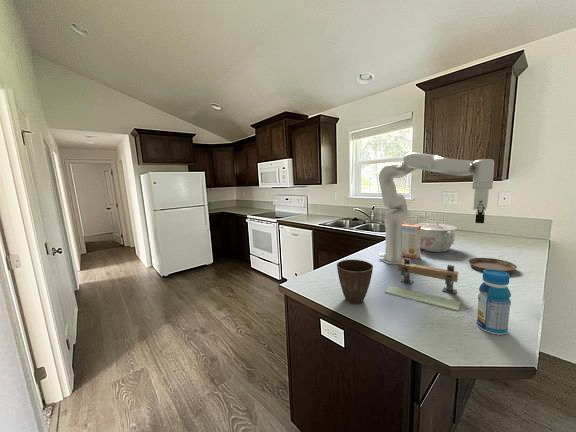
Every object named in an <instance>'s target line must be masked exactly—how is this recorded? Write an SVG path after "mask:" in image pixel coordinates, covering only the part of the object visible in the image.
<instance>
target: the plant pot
mask: <svg viewBox="0 0 576 432" xmlns="http://www.w3.org/2000/svg"><path fill="white" fill-rule="evenodd" d="M336 268H337V274H338V279H339V284H340V288H341V291H342V293H343V297H344V298H345V301H346V302H347V303H349V304H352V305H360V303H361V304H362V303H363V302H364V300H365V298H366V296H367V293H368V290H369V287H370V284H371V281H372V275H373V270H374V265H373V264H372V263H370V262H368V261H365V260H363V259H362V260H361V259H344V260H341V261H339V262H337V263H336Z"/></svg>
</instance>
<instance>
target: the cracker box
mask: <svg viewBox="0 0 576 432" xmlns="http://www.w3.org/2000/svg"><path fill="white" fill-rule="evenodd" d="M401 228H402V257H405V258H409V259H411V258H412V259H419V258H420V257H421V248H420V239H421V226H417V225H414V224H407V223H405V224H403V225H401Z"/></svg>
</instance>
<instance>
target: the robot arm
mask: <svg viewBox="0 0 576 432" xmlns="http://www.w3.org/2000/svg"><path fill="white" fill-rule="evenodd" d="M415 170H422V171H426V172H427V171H428V172H432V173H440V174H445V175H451V176H455V177H456V176H457V177H465V176H467V177H468V176H472V187H471V189H472V190H474V192H473V193H474V194H473V208H472V209H473V211H475V210H476V214H475V224H484V223H485V211H486V210H487V207H488V201H489V195H490V194H489V193H490V192H489V191H490V190H493V186H494V185H493V184H494V175H495V174H494V172H495V160H494V159H491V158H483V159H477V160H467V159H466V160H465V159H457V158H449V157H443V156H440V155H438V154H437V155H436V154H429V153H421V152H414V151H412V152H408V153H406V154H405V155H404V156H403V158H402V161H401V162H400V163H389V164H386V165H385V166H383V167H382V168H381V169H380V172H379V174H378V182H379V186H380V191H381V198H382V202H383V207H385V209H388V210H391V211H390V212H388V213H387V214H385V217H384V228H385V252H384V253H382V252H379V253H378V256H379V257H381V258H382V262H383V263H385V264H389V265H397V266H398V263H399V262H403V263H404V259H405V258H403V256H402V228H401V225H403V224H407V222H408V221H409V218H410V217H409V216H410V215H409V210H408V205H407V201H406V197H405V196H404V195H403V194H402V193H400V192H397V187H396V183H395V181H394V179H400V178H401V179H402V178H404V177H405V176H407V175H409V174H411V173H413V172H414V171H415Z"/></svg>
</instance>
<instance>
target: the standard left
mask: <svg viewBox="0 0 576 432" xmlns="http://www.w3.org/2000/svg"><path fill="white" fill-rule="evenodd" d="M403 259H404V263H409V264H412V263H411V261H412V259H411V258H409V257H405V258H403ZM400 275H401V276H403V278H402V279H401V280H400V283H401V284H402V283H403V284H406V285H413V283H414V280H411V273H406V269H403V268H401V271H400Z"/></svg>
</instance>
